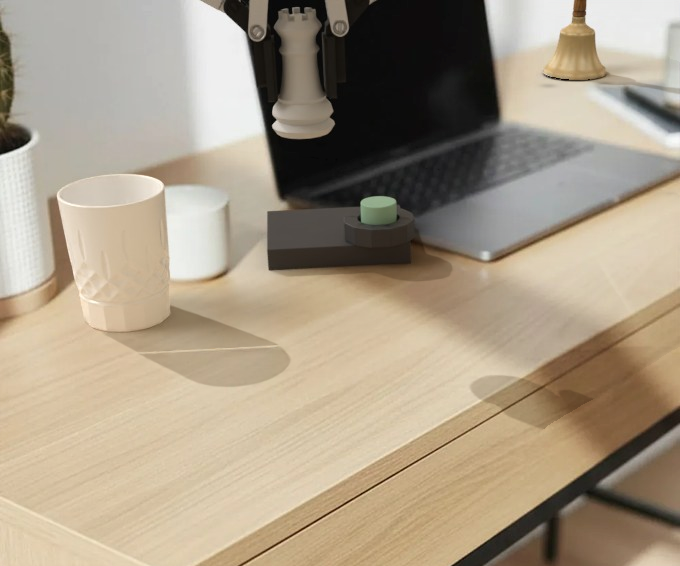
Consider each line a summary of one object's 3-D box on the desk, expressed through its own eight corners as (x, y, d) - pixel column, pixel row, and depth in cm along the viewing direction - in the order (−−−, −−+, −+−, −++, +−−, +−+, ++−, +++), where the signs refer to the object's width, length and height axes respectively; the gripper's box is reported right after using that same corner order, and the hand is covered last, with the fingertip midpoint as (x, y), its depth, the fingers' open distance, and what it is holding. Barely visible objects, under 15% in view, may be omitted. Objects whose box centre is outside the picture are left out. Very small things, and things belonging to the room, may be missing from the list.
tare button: (394, 215, 102) (394, 195, 102) (398, 226, 100) (398, 206, 99) (359, 216, 102) (359, 196, 101) (362, 228, 100) (361, 208, 99)
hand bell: (613, 68, 159) (624, -65, 150) (597, 82, 152) (608, -56, 144) (552, 64, 162) (560, -66, 153) (534, 78, 155) (541, -57, 147)
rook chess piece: (309, 119, 87) (303, 1, 83) (348, 130, 84) (343, 9, 80) (259, 131, 85) (250, 11, 81) (297, 144, 82) (290, 20, 78)
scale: (404, 224, 110) (404, 186, 108) (417, 268, 100) (417, 227, 99) (268, 231, 109) (265, 193, 108) (268, 275, 100) (265, 235, 98)
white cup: (150, 341, 90) (134, 210, 84) (58, 330, 92) (36, 202, 87) (195, 301, 96) (182, 177, 91) (107, 292, 98) (89, 170, 93)
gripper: (144, -203, 70) (180, 116, 80) (425, -218, 71) (427, 102, 81) (152, -207, 76) (185, 90, 86) (411, -221, 77) (413, 76, 87)
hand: (301, 92), depth 83 cm, fingers closed on rook chess piece, 3 cm apart
